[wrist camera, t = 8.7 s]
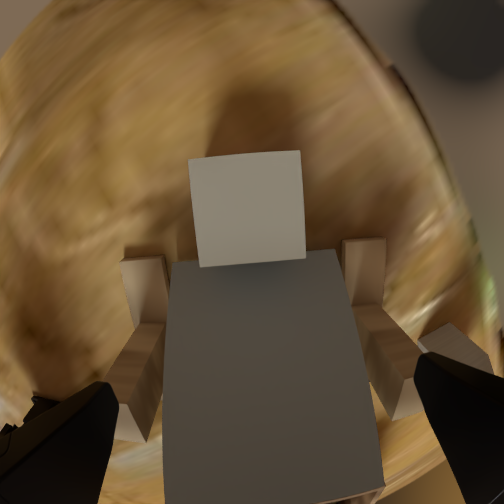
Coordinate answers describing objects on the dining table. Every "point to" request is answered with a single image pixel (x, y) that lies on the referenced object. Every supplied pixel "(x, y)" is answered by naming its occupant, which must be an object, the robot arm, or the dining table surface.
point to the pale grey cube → (248, 207)
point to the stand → (154, 332)
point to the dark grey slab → (265, 386)
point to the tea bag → (455, 347)
